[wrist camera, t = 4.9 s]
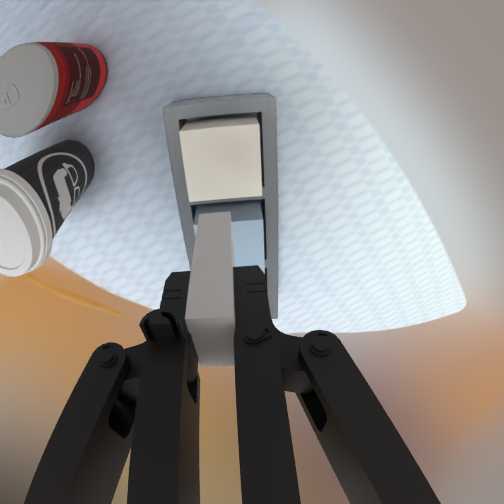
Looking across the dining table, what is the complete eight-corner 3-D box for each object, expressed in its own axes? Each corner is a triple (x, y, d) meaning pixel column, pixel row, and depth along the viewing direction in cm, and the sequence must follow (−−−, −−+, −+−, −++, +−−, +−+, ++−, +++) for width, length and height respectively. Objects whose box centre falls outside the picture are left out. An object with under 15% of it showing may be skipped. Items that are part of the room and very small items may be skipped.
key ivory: (186, 122, 24) (179, 131, 21) (255, 116, 24) (259, 124, 21) (194, 183, 27) (189, 202, 24) (257, 178, 28) (262, 195, 24)
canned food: (37, 84, 22) (-27, 103, 13) (82, 29, 20) (21, 24, 11) (75, 126, 26) (17, 158, 17) (123, 73, 24) (72, 80, 15)
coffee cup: (64, 110, 25) (-27, 154, 13) (122, 162, 29) (58, 236, 17) (28, 171, 28) (-47, 237, 16) (80, 217, 33) (22, 301, 20)
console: (173, 101, 26) (162, 108, 22) (268, 93, 26) (275, 97, 22) (205, 297, 41) (203, 324, 37) (272, 291, 41) (277, 318, 37)
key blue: (197, 204, 29) (193, 225, 25) (258, 199, 29) (263, 219, 26) (205, 254, 32) (203, 278, 29) (261, 250, 32) (264, 274, 29)
